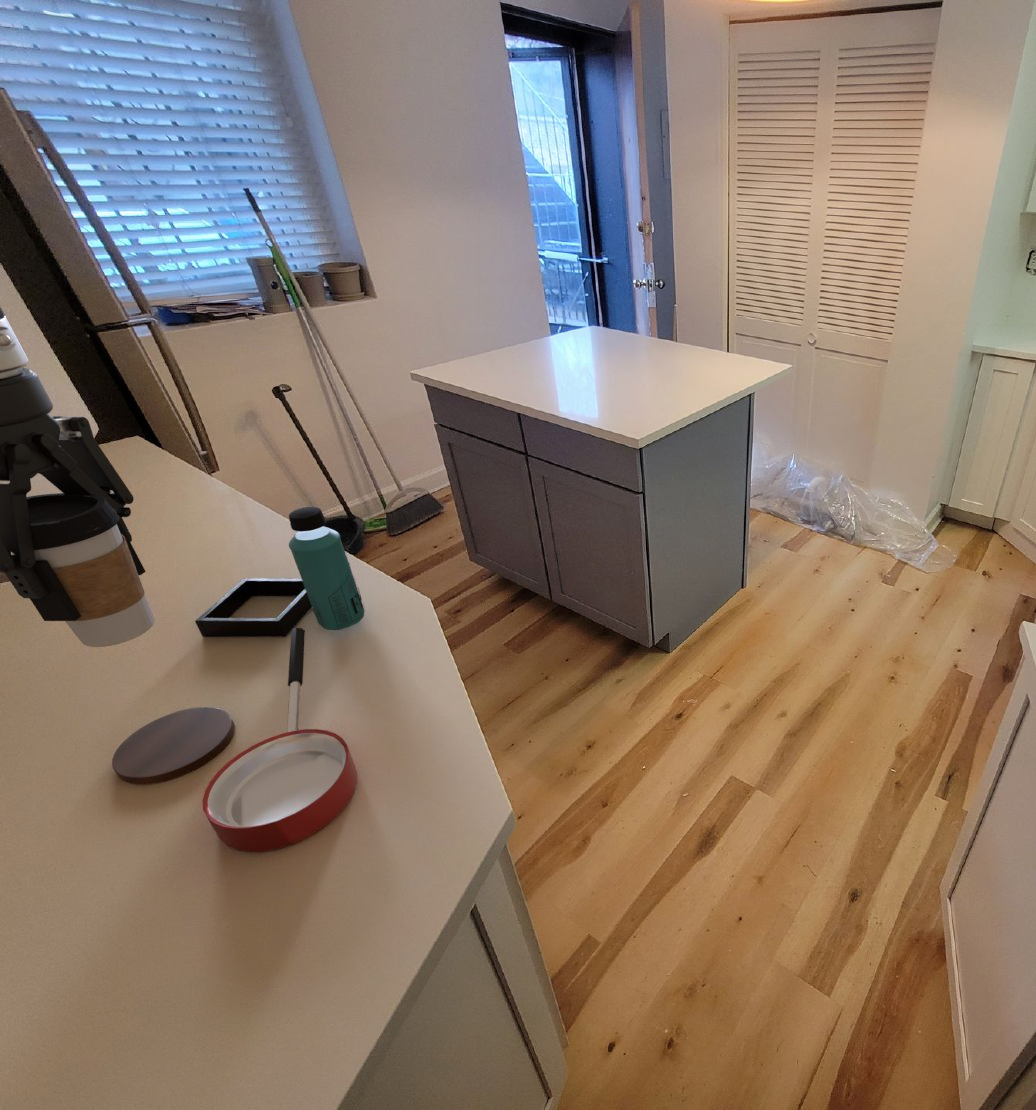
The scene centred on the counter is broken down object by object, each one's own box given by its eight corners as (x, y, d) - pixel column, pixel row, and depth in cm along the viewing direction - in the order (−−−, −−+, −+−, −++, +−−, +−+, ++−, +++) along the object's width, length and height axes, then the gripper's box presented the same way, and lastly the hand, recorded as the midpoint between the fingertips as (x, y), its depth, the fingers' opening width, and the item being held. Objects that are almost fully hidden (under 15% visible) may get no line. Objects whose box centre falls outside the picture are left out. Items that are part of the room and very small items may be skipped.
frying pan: (231, 683, 82) (213, 646, 79) (342, 653, 89) (330, 618, 86) (213, 877, 60) (187, 837, 57) (364, 819, 66) (348, 780, 63)
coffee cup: (92, 612, 67) (19, 490, 60) (184, 603, 70) (125, 484, 62) (44, 661, 61) (-45, 529, 53) (148, 648, 63) (77, 521, 56)
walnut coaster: (89, 785, 68) (84, 778, 67) (162, 713, 77) (158, 707, 77) (195, 783, 69) (191, 776, 68) (254, 712, 78) (251, 706, 78)
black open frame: (202, 637, 90) (194, 621, 89) (250, 593, 100) (244, 578, 99) (285, 637, 91) (278, 621, 90) (324, 593, 101) (319, 578, 100)
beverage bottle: (366, 634, 93) (328, 518, 83) (315, 642, 91) (271, 524, 80) (371, 610, 98) (336, 498, 88) (323, 617, 96) (282, 503, 86)
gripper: (-118, 411, 43) (49, 659, 54) (115, 349, 60) (204, 546, 72) (-240, 407, 42) (-44, 659, 54) (32, 345, 60) (135, 545, 71)
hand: (98, 594), depth 63 cm, fingers closed on coffee cup, 8 cm apart
